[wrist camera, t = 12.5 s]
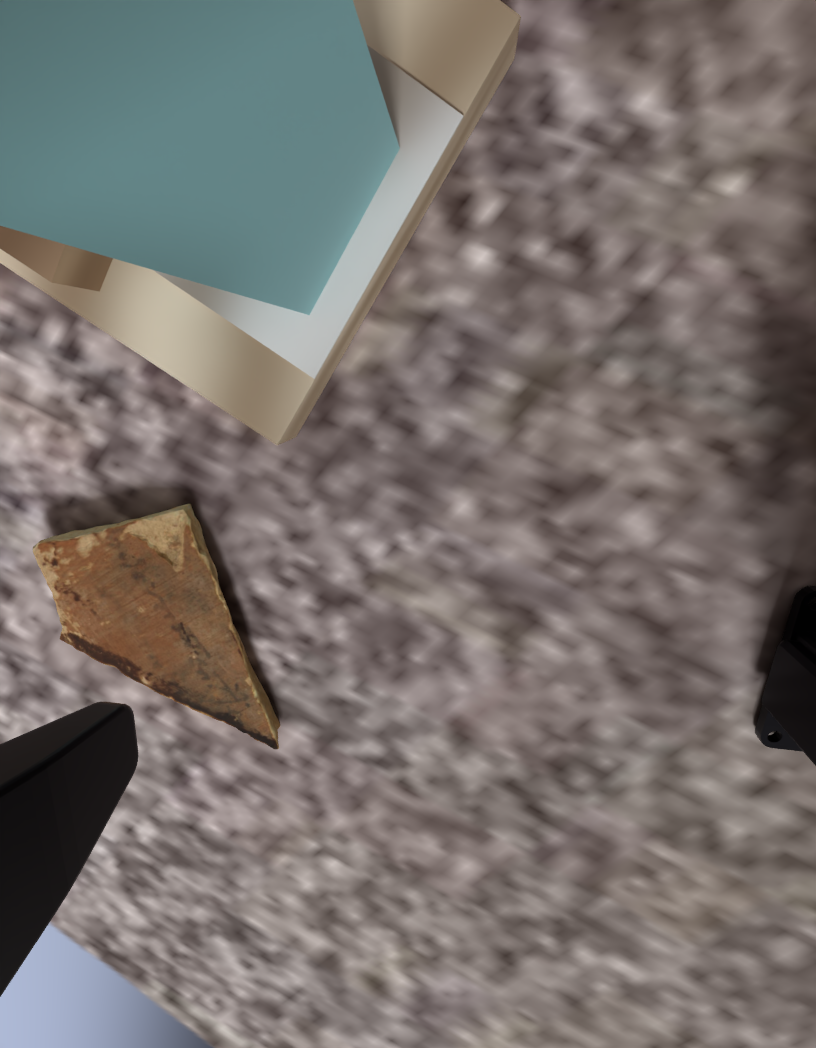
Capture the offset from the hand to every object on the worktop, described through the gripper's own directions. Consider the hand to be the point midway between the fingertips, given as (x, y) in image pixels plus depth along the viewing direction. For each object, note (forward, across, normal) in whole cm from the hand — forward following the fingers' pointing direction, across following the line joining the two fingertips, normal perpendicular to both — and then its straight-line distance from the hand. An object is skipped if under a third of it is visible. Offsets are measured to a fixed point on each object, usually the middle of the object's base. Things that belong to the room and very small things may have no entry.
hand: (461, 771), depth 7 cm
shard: (+14, +11, +5) cm, 18 cm away
